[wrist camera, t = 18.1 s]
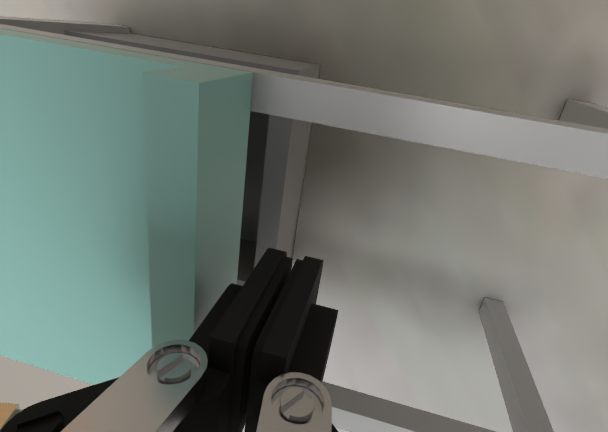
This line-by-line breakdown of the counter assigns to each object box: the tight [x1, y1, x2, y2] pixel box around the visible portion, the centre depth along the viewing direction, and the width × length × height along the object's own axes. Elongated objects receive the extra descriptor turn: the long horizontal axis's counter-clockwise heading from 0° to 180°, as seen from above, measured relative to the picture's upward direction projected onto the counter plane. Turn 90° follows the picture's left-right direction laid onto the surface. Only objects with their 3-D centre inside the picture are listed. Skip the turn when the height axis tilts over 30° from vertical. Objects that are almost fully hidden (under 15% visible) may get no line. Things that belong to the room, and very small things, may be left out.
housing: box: [0, 16, 608, 432], centre depth 17 cm, size 12×24×10 cm, turn 82°
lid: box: [0, 28, 253, 385], centre depth 12 cm, size 12×12×3 cm
